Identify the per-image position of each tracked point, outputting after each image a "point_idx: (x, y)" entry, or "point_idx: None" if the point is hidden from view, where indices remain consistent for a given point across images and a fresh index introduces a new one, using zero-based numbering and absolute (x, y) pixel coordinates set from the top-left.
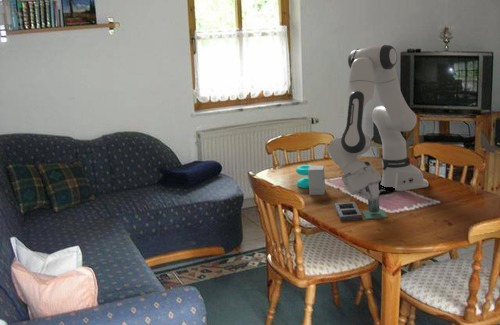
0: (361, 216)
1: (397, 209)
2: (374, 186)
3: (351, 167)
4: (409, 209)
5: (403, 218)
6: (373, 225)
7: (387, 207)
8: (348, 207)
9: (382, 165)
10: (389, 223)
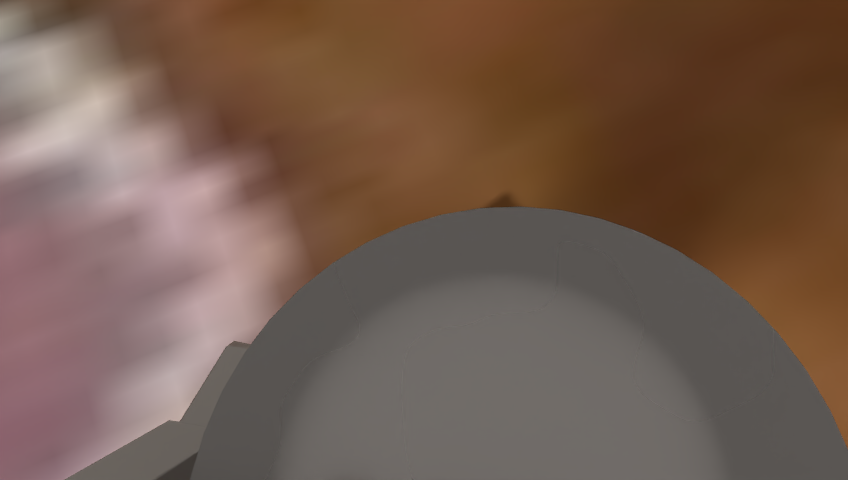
0: None
1: (134, 212)
2: (739, 323)
3: None
4: (95, 75)
5: (425, 31)
6: (818, 272)
7: (87, 373)
8: None
9: None
10: (654, 116)
